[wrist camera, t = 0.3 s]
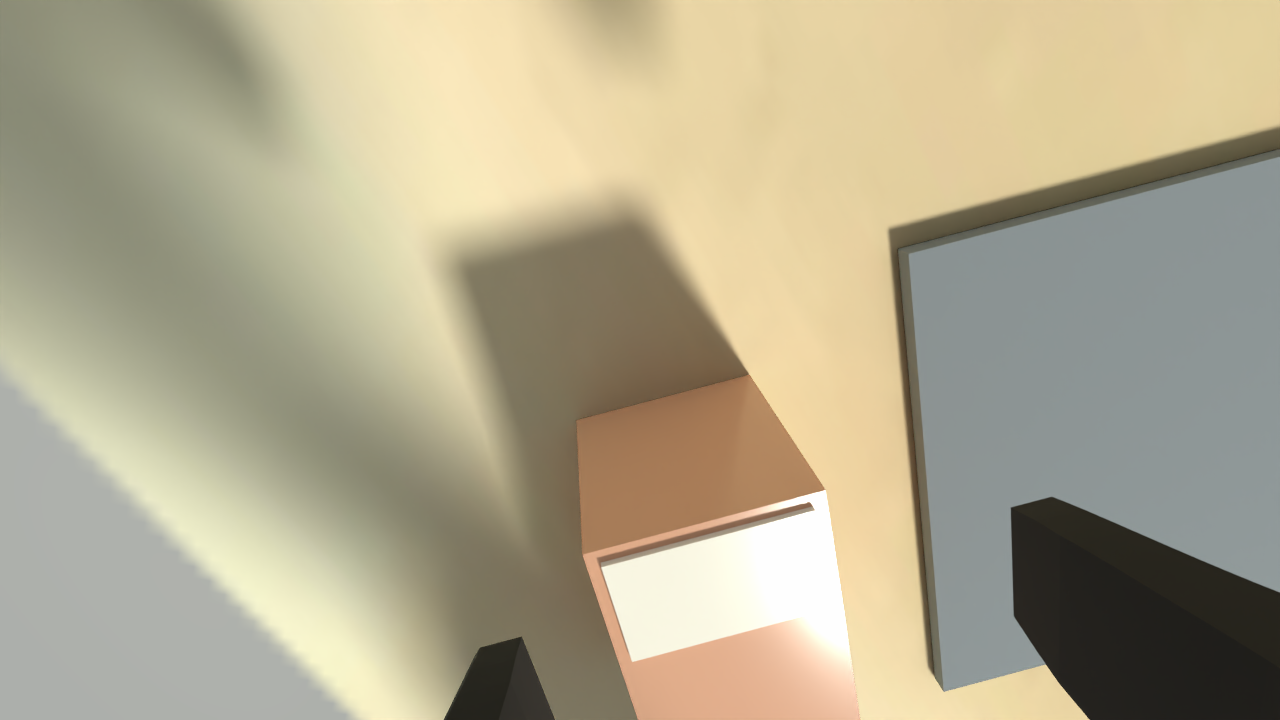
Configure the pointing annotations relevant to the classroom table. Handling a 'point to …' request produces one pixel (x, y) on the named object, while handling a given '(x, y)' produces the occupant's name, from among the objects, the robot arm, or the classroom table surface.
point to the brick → (714, 560)
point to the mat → (1096, 389)
